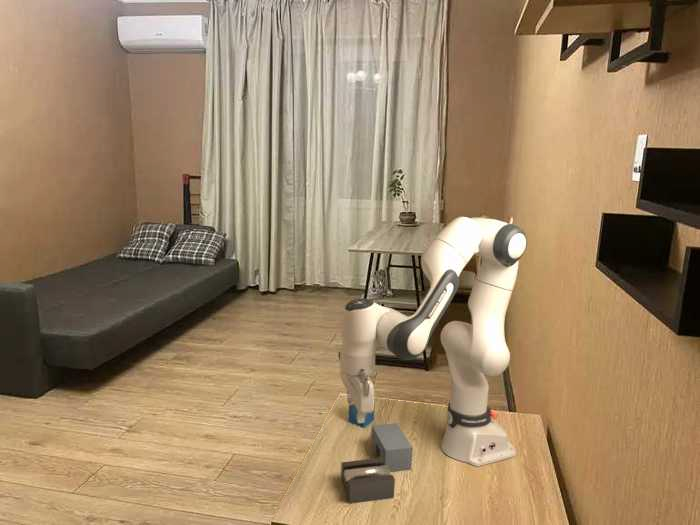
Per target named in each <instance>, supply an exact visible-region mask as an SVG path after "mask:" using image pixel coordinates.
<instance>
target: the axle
mask: <svg viewBox="0 0 700 525" xmlns="http://www.w3.org/2000/svg"><path fill="white" fill-rule="evenodd" d="M385 475H391V472H390V468H389V466H388V465H383V466H374V467H366V468H357V469H348V470H344V479H345V482H348V480H352V479H360V478H369V477H377V476H385Z"/></svg>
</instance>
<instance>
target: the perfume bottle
mask: <svg viewBox="0 0 700 525" xmlns="http://www.w3.org/2000/svg"><path fill="white" fill-rule="evenodd" d="M375 405H376V404H375V403H374V410H373V412H372V413H367V414H366V415H365V422H364V423H358V422H357V419H356V418H357V414H358V410H357V408H356V406H355V405H349V404H348V423H349V422H350V423H349V424H351V423H352V425H354V424H355V426H357V427H359V426H360V427H359V428H362V429H365V428H366V427H368V426H369V425H371V424H372V423H373V422H374V421H375V408H376V406H375ZM373 420H374V421H373ZM372 421H373V422H372ZM371 422H372V423H371ZM367 425H368V426H367Z"/></svg>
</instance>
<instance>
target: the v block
mask: <svg viewBox="0 0 700 525" xmlns="http://www.w3.org/2000/svg"><path fill="white" fill-rule="evenodd" d="M383 465H385V460H384V458H380V457H378V458H369V459H368V458H367V459H360V460H350V461H342V462H341V466H340V482H341V484H342V487H343V490H344V492H345V495H346V498H347V500H348V503H349V504H357V503H365V502H372V501H382V500H388V499H389V500H390V499H394V498H395V482H396V478H395V476H394V475H393V474H390V475H385V476H377V477H369V478H360V479H352V480H348V482H345V479H344V470H348V469H357V468H366V467H374V466H383Z"/></svg>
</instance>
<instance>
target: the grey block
mask: <svg viewBox="0 0 700 525" xmlns="http://www.w3.org/2000/svg"><path fill="white" fill-rule="evenodd" d="M370 438H371V439H370V447H371V449H372V451H373V453H374V455H375V456H378V455H379V458H384V460H385V465H388V466H389V468H390V473H394V472H402V471H410V470H412V464H413V445H411V443H410V441H409V439H408V438H407V437H406V435H405V433H404V432H403V431H402V429H401V427H400V426H399V424H398V423H397V422H394V423H393V422H392V423H391V422H390V423H383V424H382V423H381V424H372V425H371V437H370Z"/></svg>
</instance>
